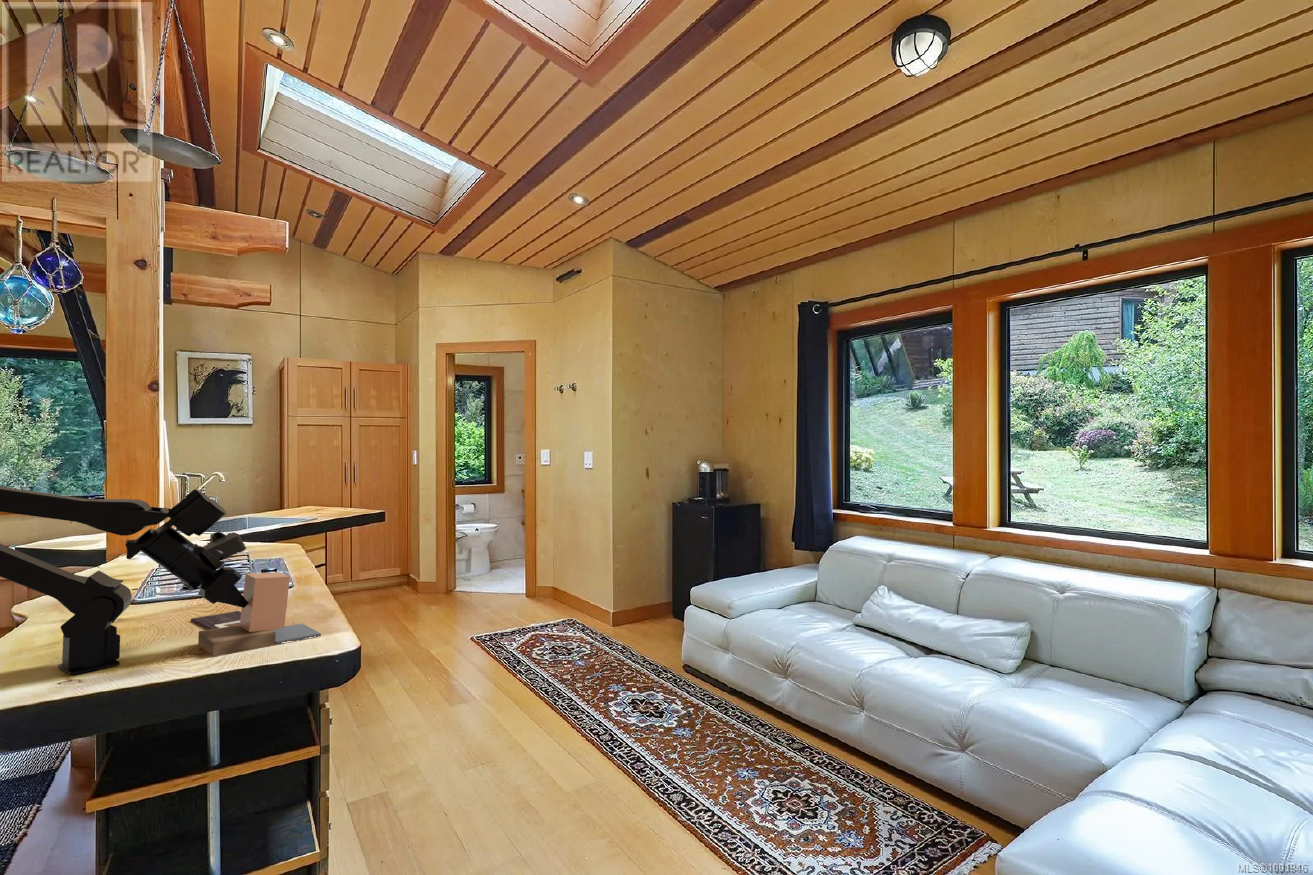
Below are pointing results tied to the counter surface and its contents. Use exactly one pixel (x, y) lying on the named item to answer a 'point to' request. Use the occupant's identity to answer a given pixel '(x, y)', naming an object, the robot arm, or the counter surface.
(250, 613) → the block
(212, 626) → the chocolate bar
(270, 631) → the board
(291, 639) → the mat
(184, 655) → the counter surface
